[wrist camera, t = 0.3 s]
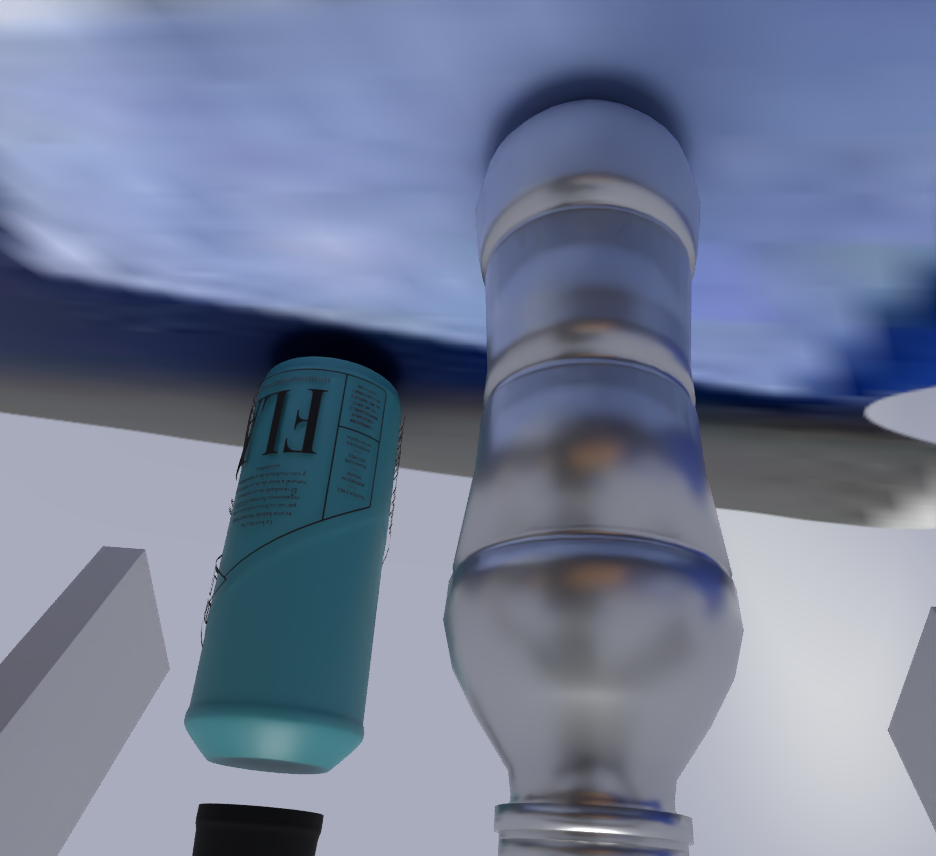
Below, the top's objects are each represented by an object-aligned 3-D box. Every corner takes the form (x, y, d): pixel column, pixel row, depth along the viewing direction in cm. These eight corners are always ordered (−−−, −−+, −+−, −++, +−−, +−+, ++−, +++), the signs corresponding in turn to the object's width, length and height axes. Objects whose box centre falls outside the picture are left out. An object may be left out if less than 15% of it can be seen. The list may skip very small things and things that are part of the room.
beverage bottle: (343, 304, 32) (237, 884, 22) (440, 385, 36) (390, 892, 26) (232, 350, 35) (96, 870, 25) (334, 418, 40) (254, 880, 30)
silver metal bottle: (512, 251, 28) (479, 906, 18) (451, 91, 23) (357, 907, 13) (700, 219, 26) (776, 931, 16) (684, 37, 21) (785, 945, 11)
